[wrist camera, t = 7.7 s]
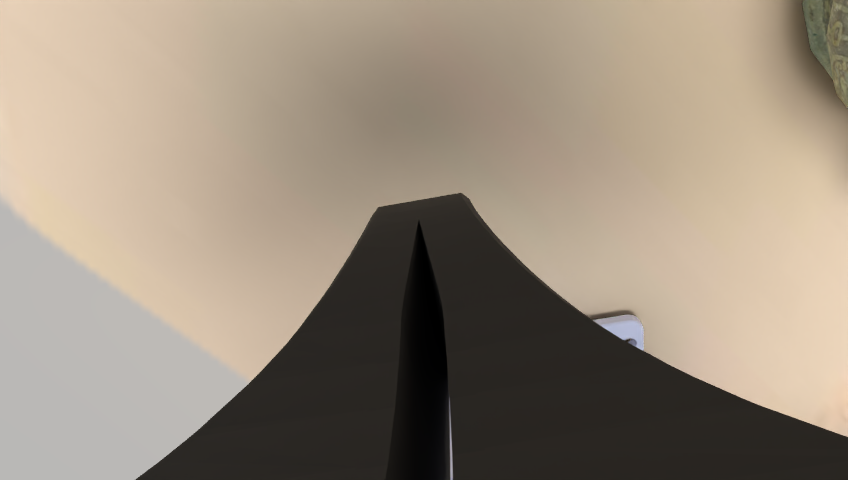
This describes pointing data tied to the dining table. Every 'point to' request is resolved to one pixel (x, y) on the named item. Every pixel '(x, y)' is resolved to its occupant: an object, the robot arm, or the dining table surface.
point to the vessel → (830, 39)
